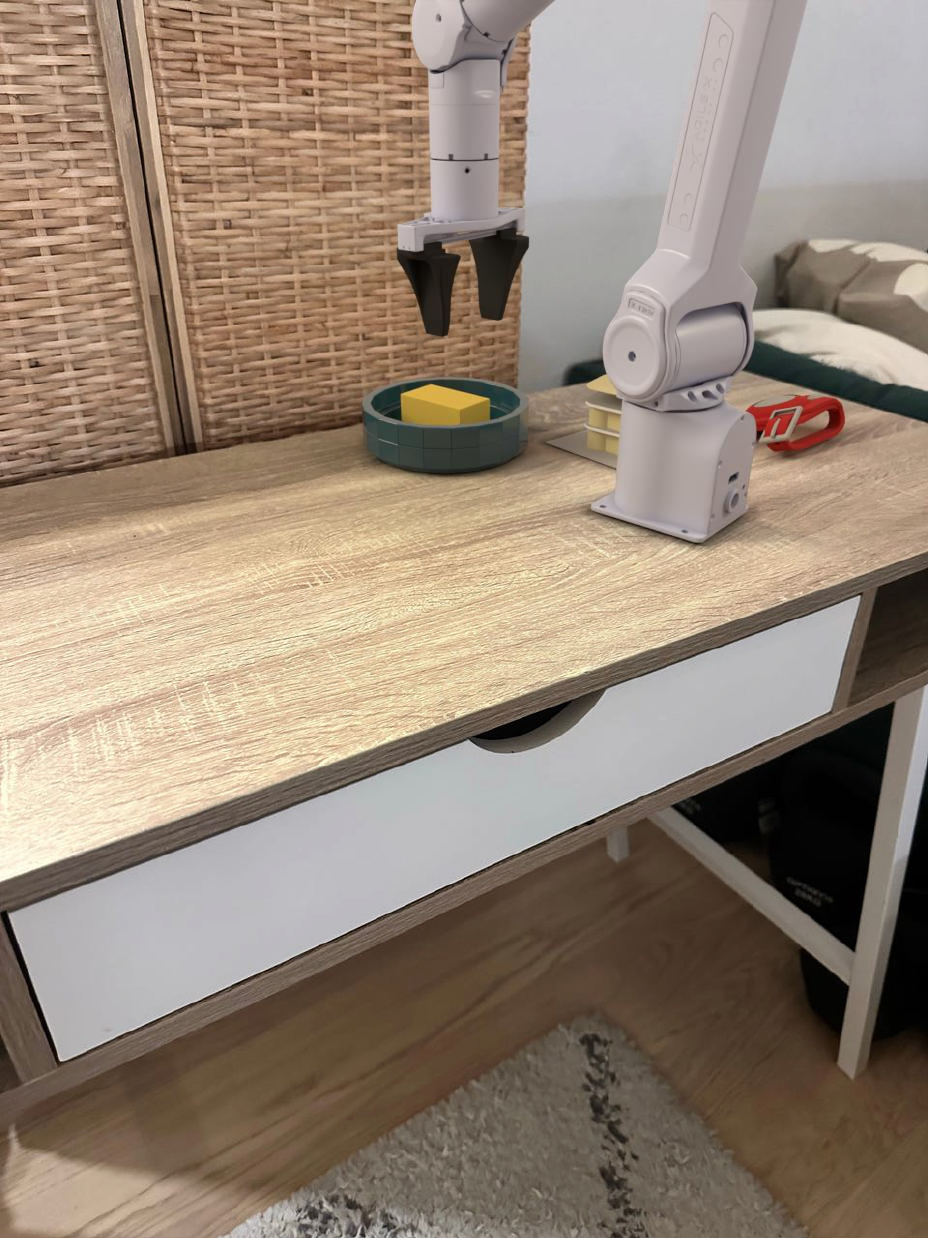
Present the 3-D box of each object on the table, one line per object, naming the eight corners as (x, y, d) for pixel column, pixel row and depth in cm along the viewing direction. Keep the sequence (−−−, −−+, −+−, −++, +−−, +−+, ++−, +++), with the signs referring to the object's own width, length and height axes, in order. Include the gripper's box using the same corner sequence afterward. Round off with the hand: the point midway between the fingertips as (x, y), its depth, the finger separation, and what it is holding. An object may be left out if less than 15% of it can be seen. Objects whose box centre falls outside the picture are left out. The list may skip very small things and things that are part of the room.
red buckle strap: (713, 408, 90) (812, 378, 90) (722, 452, 92) (819, 423, 92) (765, 419, 79) (878, 385, 79) (774, 470, 80) (885, 436, 80)
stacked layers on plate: (695, 449, 84) (703, 388, 81) (628, 473, 79) (634, 409, 76) (611, 421, 90) (616, 364, 88) (545, 442, 85) (547, 382, 83)
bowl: (559, 442, 86) (561, 397, 83) (454, 490, 76) (454, 440, 74) (439, 410, 94) (439, 368, 92) (331, 449, 84) (327, 403, 82)
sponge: (489, 442, 84) (490, 398, 82) (460, 454, 81) (460, 409, 79) (431, 425, 88) (430, 383, 86) (402, 436, 85) (400, 393, 83)
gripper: (482, 150, 85) (482, 306, 91) (367, 161, 75) (376, 334, 82) (546, 154, 81) (540, 316, 88) (433, 166, 71) (436, 347, 78)
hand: (465, 326), depth 84 cm, fingers open, 7 cm apart
